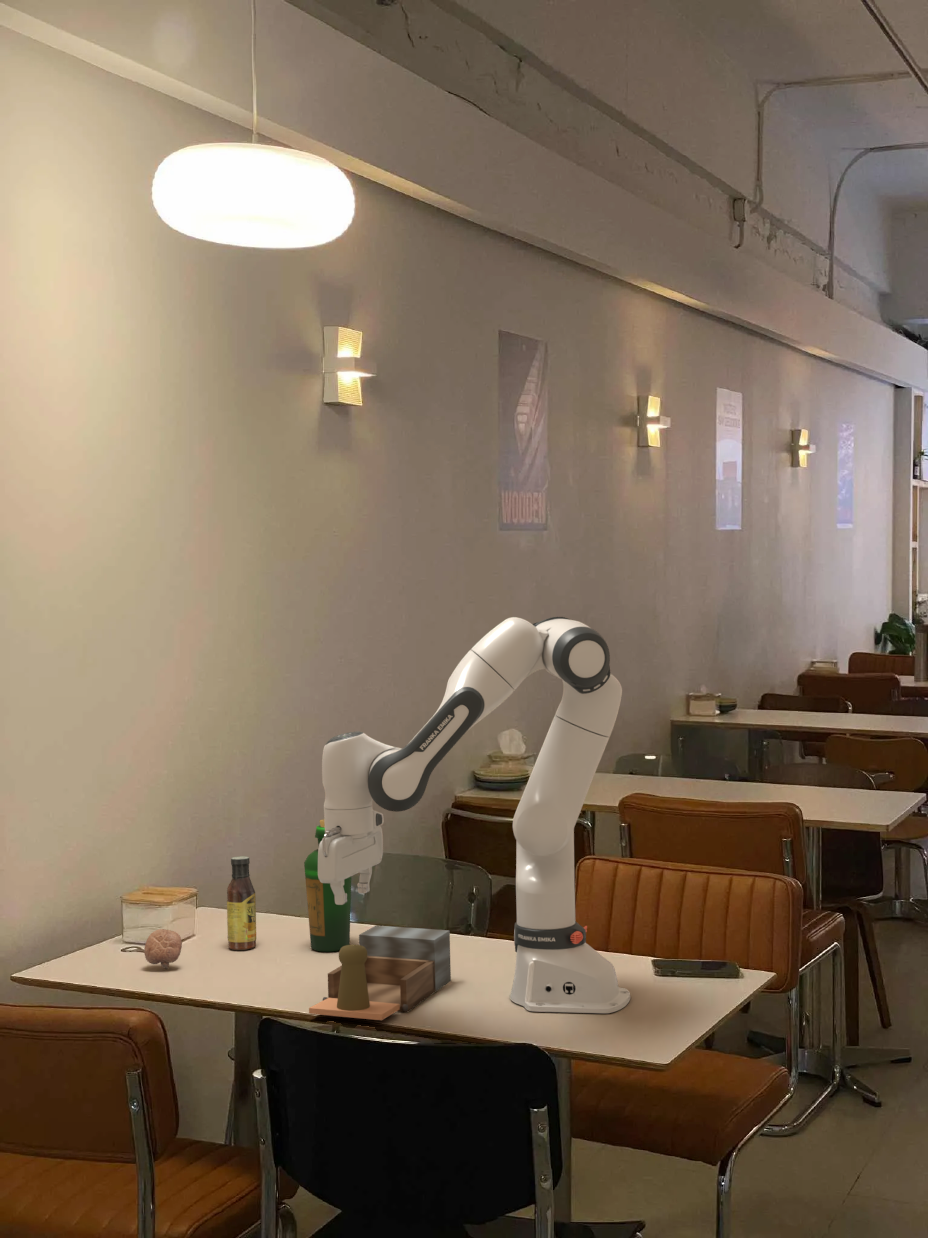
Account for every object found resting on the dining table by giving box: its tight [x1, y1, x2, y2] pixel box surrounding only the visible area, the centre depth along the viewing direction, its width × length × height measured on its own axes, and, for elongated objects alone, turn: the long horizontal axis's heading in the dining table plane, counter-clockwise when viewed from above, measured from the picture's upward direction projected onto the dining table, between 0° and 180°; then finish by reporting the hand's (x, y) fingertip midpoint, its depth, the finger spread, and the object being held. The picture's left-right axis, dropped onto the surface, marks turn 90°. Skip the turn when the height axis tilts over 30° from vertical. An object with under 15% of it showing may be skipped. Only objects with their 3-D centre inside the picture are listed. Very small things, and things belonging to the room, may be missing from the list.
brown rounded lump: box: [143, 928, 183, 970], centre depth 289 cm, size 8×6×8 cm
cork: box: [337, 944, 370, 1011], centre depth 252 cm, size 6×6×11 cm
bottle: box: [303, 818, 352, 953], centre depth 303 cm, size 11×11×28 cm
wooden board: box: [308, 998, 400, 1021], centre depth 252 cm, size 14×1×8 cm
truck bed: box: [322, 925, 452, 1014], centre depth 267 cm, size 17×24×10 cm
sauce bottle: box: [226, 855, 257, 951], centre depth 305 cm, size 7×6×20 cm
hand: (352, 898), depth 252 cm, fingers open, 8 cm apart
